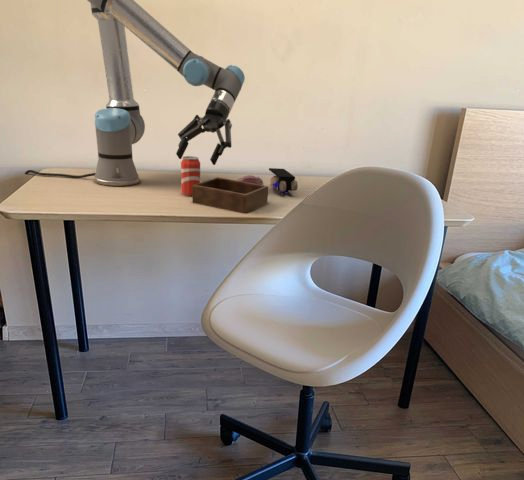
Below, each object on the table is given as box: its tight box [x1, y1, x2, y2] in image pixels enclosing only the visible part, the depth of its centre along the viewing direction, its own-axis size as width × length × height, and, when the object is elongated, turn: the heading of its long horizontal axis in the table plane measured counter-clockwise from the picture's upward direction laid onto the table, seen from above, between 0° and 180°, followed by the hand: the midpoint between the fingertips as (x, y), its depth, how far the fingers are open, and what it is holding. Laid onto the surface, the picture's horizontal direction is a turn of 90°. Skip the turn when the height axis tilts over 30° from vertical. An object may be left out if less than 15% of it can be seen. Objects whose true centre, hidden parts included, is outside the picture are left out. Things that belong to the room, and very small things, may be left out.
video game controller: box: [236, 174, 264, 185], centre depth 182 cm, size 10×5×7 cm, turn 105°
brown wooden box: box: [192, 176, 269, 214], centre depth 167 cm, size 20×16×6 cm
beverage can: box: [180, 155, 201, 197], centre depth 171 cm, size 6×6×12 cm
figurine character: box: [268, 167, 299, 197], centre depth 184 cm, size 7×8×15 cm
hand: (195, 159), depth 171 cm, fingers open, 13 cm apart
